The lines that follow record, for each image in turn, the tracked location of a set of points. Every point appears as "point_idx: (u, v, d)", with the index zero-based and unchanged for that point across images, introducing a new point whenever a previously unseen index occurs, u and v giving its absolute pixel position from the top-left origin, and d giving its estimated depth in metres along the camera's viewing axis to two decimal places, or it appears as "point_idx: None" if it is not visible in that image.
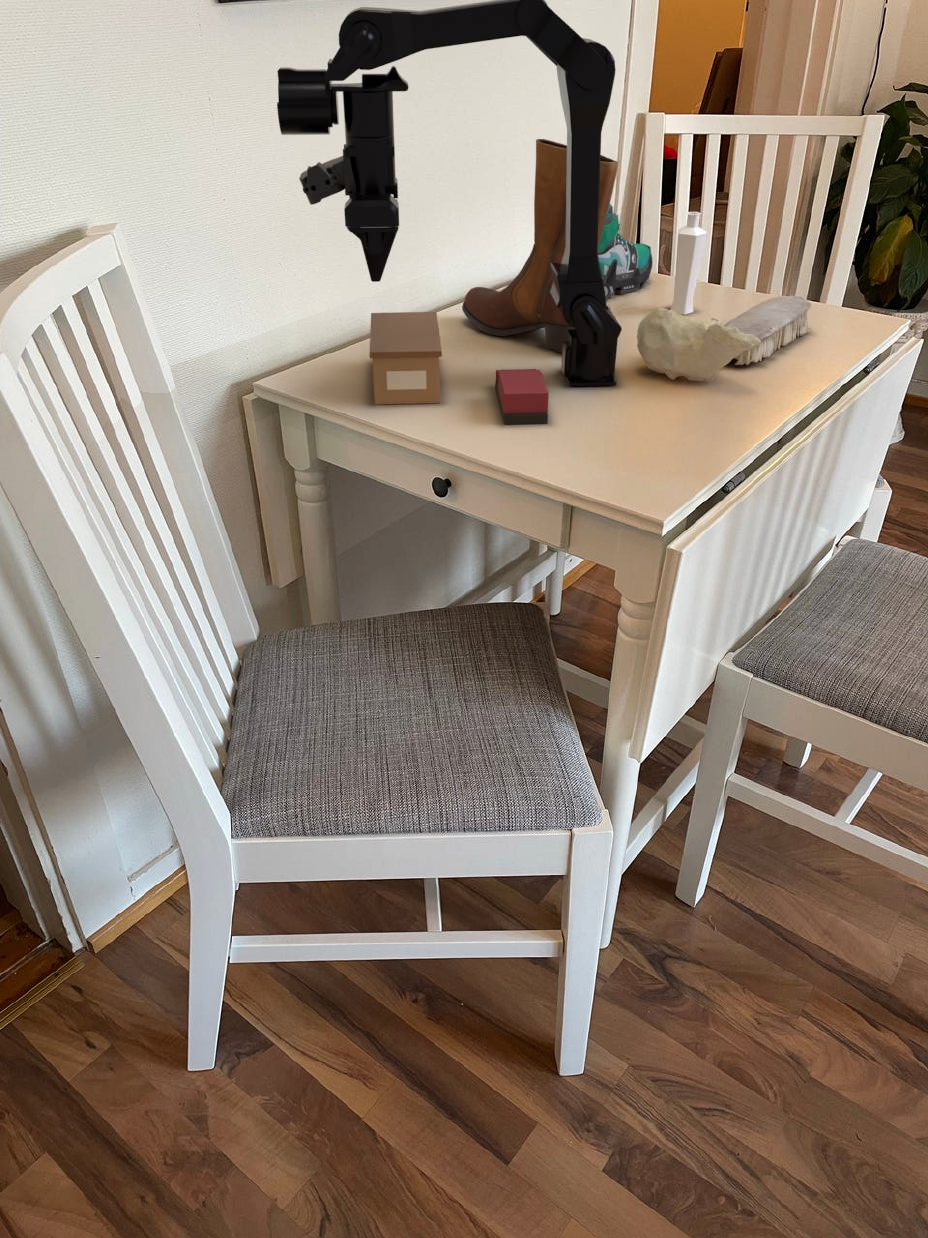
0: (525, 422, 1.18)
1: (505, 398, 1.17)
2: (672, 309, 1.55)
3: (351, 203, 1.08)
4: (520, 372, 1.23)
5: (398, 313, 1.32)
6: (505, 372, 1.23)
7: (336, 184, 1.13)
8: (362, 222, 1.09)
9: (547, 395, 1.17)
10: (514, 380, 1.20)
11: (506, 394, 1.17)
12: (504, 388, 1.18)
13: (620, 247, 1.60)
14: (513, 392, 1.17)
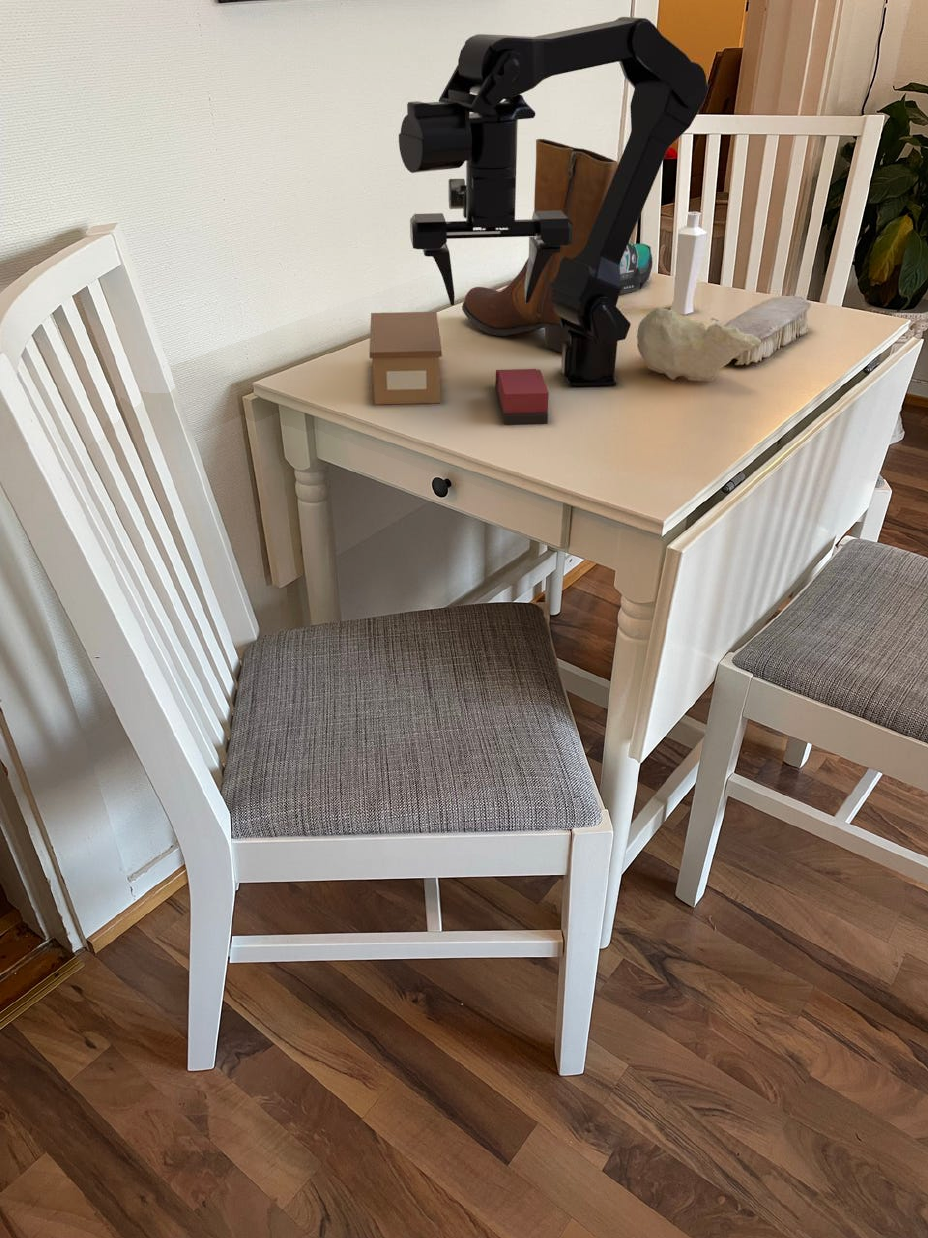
0: (525, 422, 1.18)
1: (505, 398, 1.17)
2: (672, 309, 1.55)
3: (413, 216, 1.13)
4: (520, 372, 1.23)
5: (398, 313, 1.32)
6: (505, 372, 1.23)
7: None
8: None
9: (547, 395, 1.17)
10: (514, 380, 1.20)
11: (506, 394, 1.17)
12: (504, 388, 1.18)
13: None
14: (513, 392, 1.17)
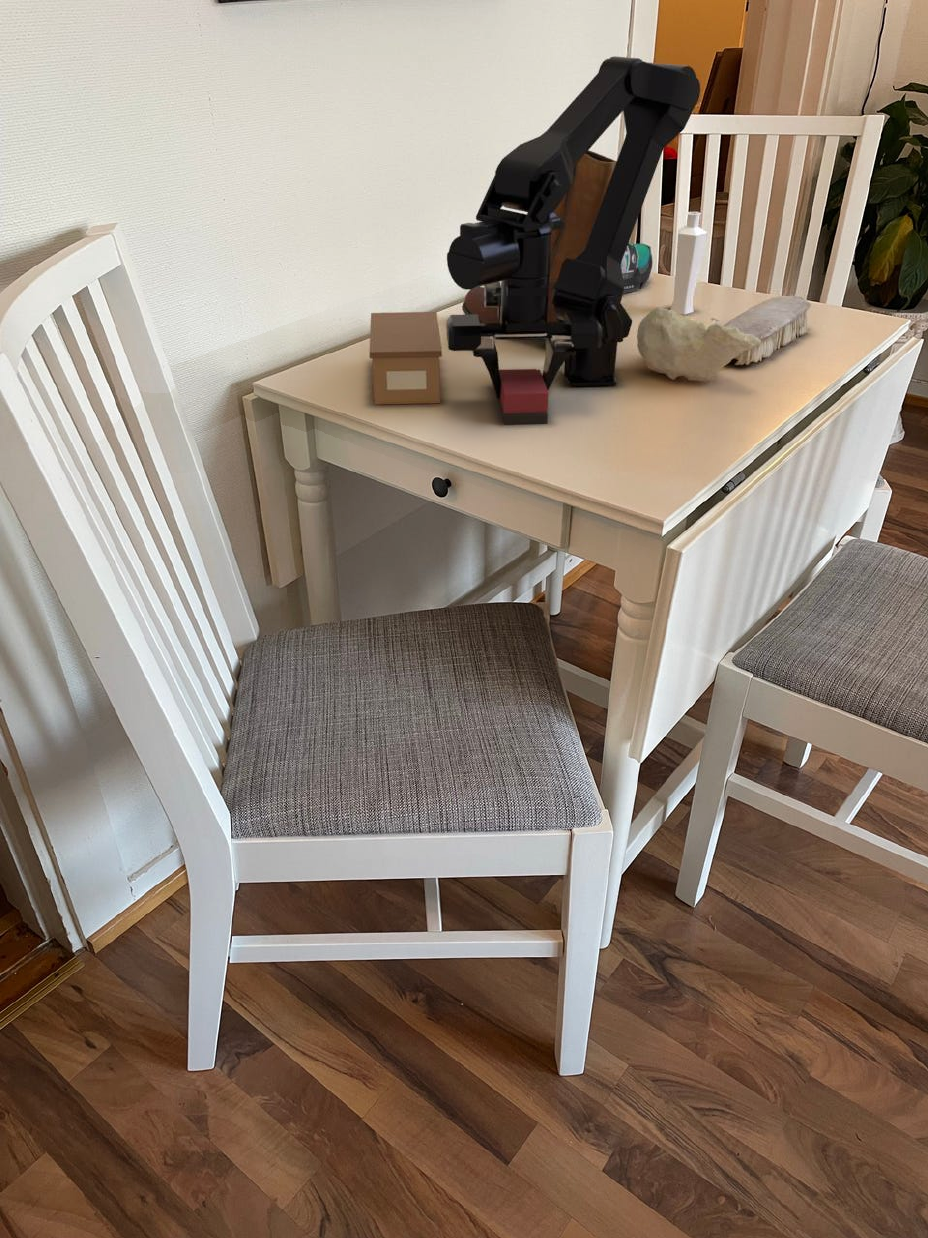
0: (525, 422, 1.18)
1: (505, 398, 1.17)
2: (672, 309, 1.55)
3: None
4: (520, 372, 1.23)
5: (398, 313, 1.32)
6: (505, 372, 1.23)
7: None
8: None
9: (547, 395, 1.17)
10: (514, 380, 1.20)
11: (506, 394, 1.17)
12: (504, 388, 1.18)
13: None
14: (513, 392, 1.17)
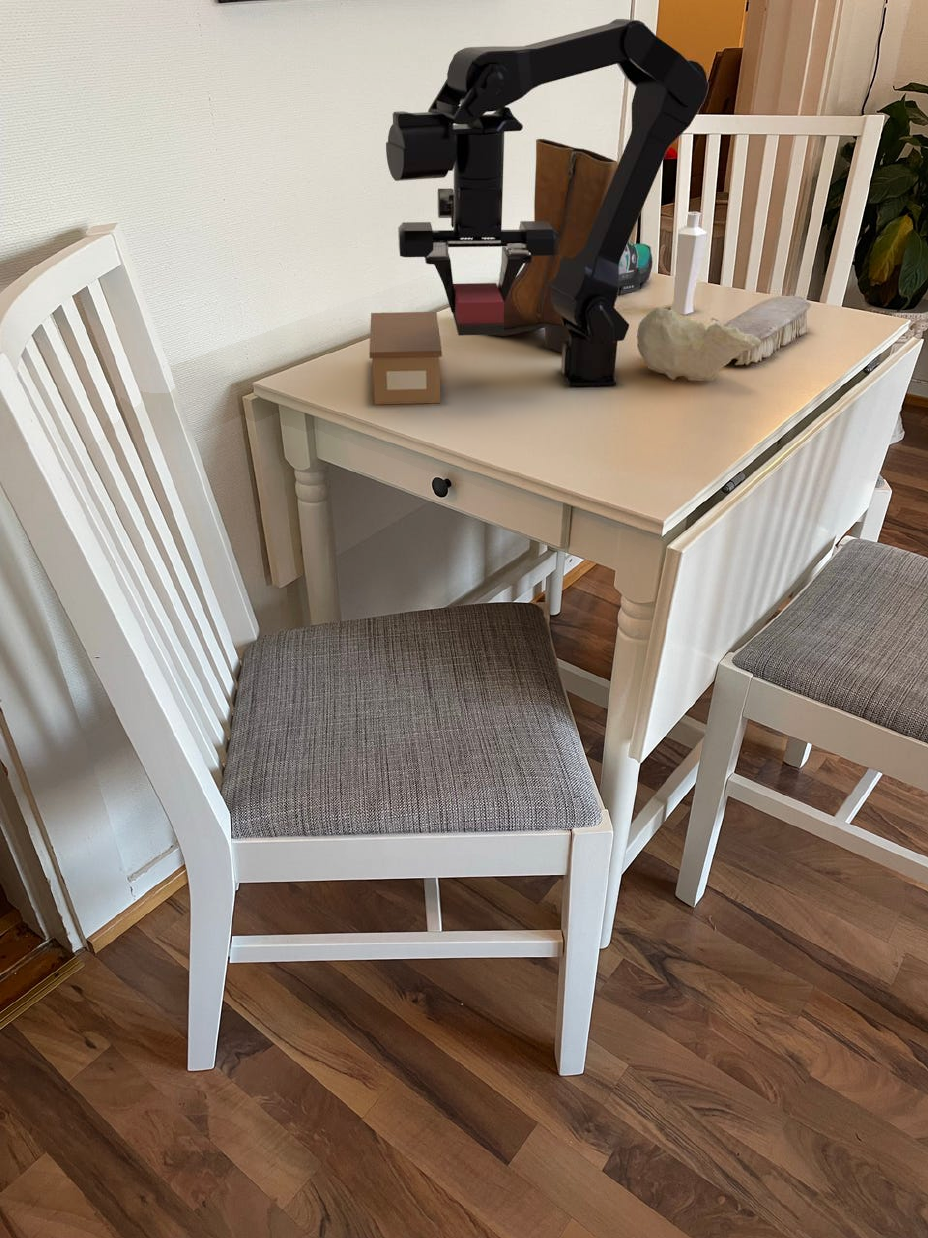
0: (480, 333, 1.15)
1: (459, 307, 1.13)
2: (672, 309, 1.55)
3: (401, 224, 1.15)
4: (476, 285, 1.19)
5: (398, 313, 1.32)
6: (460, 285, 1.19)
7: None
8: None
9: (502, 304, 1.14)
10: (469, 291, 1.17)
11: (460, 303, 1.13)
12: (458, 298, 1.15)
13: None
14: (467, 301, 1.14)
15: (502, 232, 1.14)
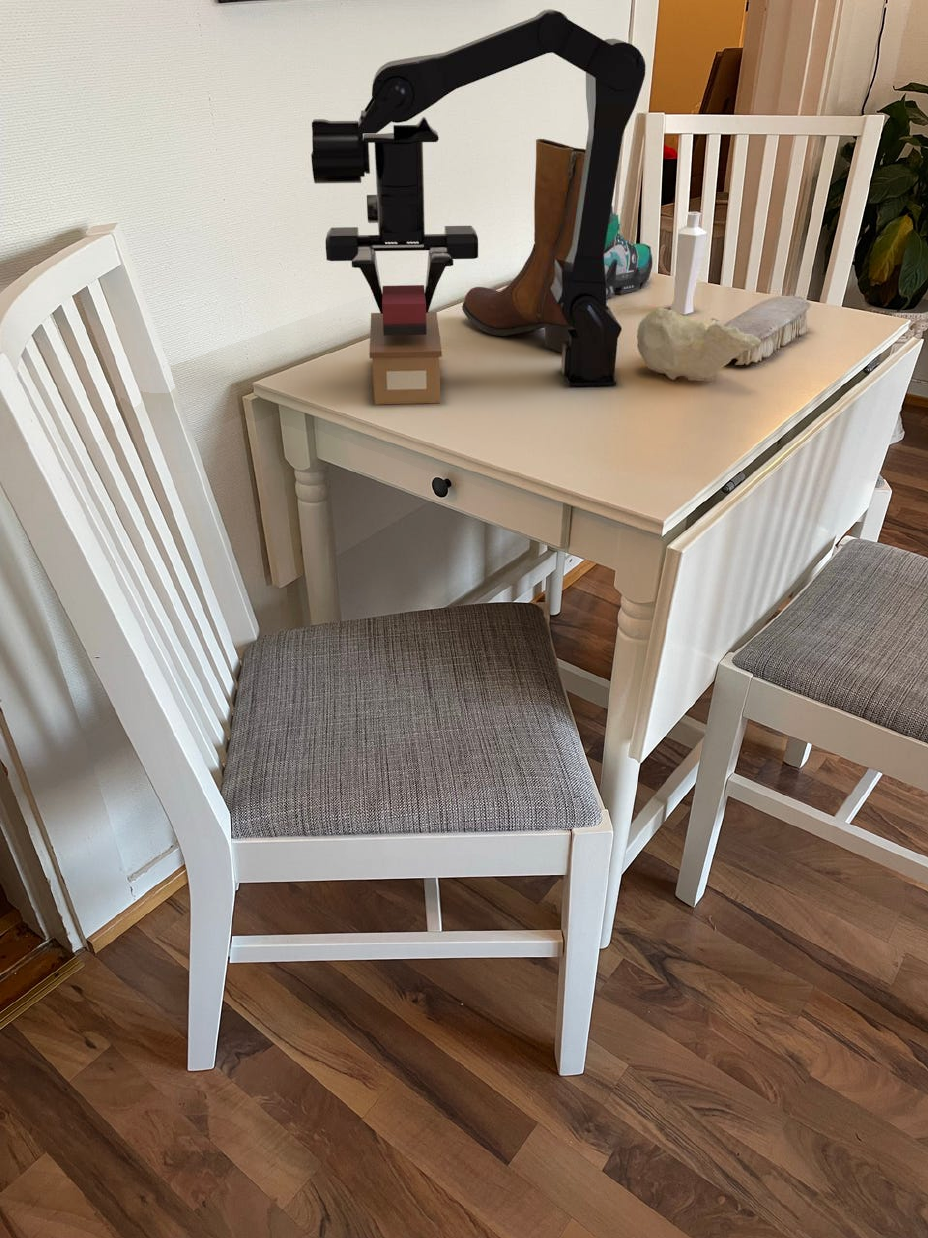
0: (404, 333, 1.20)
1: (383, 308, 1.19)
2: (672, 309, 1.55)
3: (330, 229, 1.20)
4: (404, 287, 1.24)
5: None
6: (388, 287, 1.24)
7: None
8: None
9: (424, 305, 1.19)
10: (395, 293, 1.22)
11: (384, 304, 1.18)
12: (383, 299, 1.20)
13: (620, 247, 1.60)
14: (391, 302, 1.19)
15: (425, 236, 1.19)
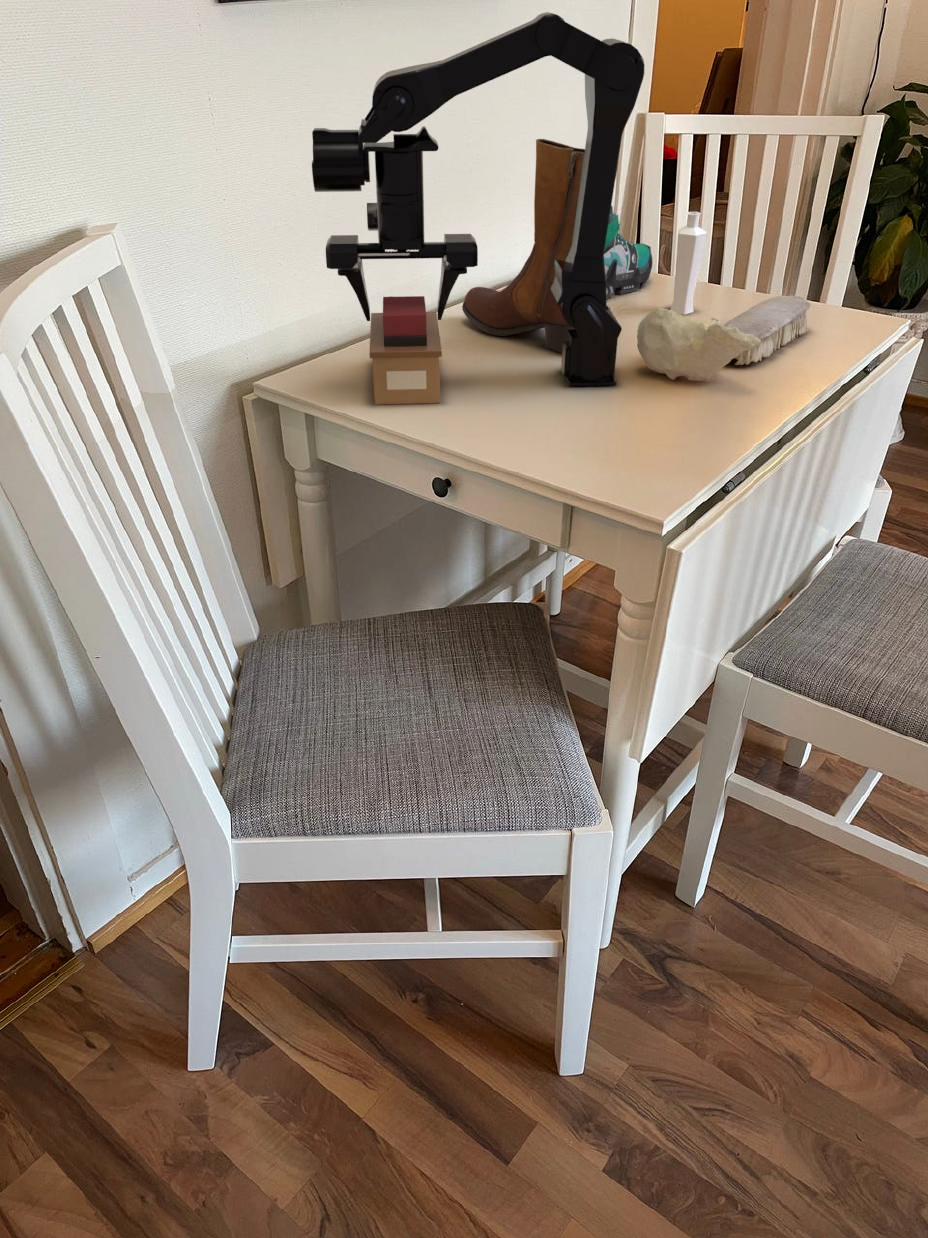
0: (405, 344, 1.21)
1: (383, 320, 1.19)
2: (672, 309, 1.55)
3: (330, 237, 1.21)
4: (404, 298, 1.25)
5: None
6: (389, 298, 1.25)
7: None
8: None
9: (425, 317, 1.20)
10: (396, 304, 1.23)
11: (384, 316, 1.19)
12: (384, 311, 1.21)
13: (620, 247, 1.60)
14: (391, 314, 1.20)
15: (425, 245, 1.20)
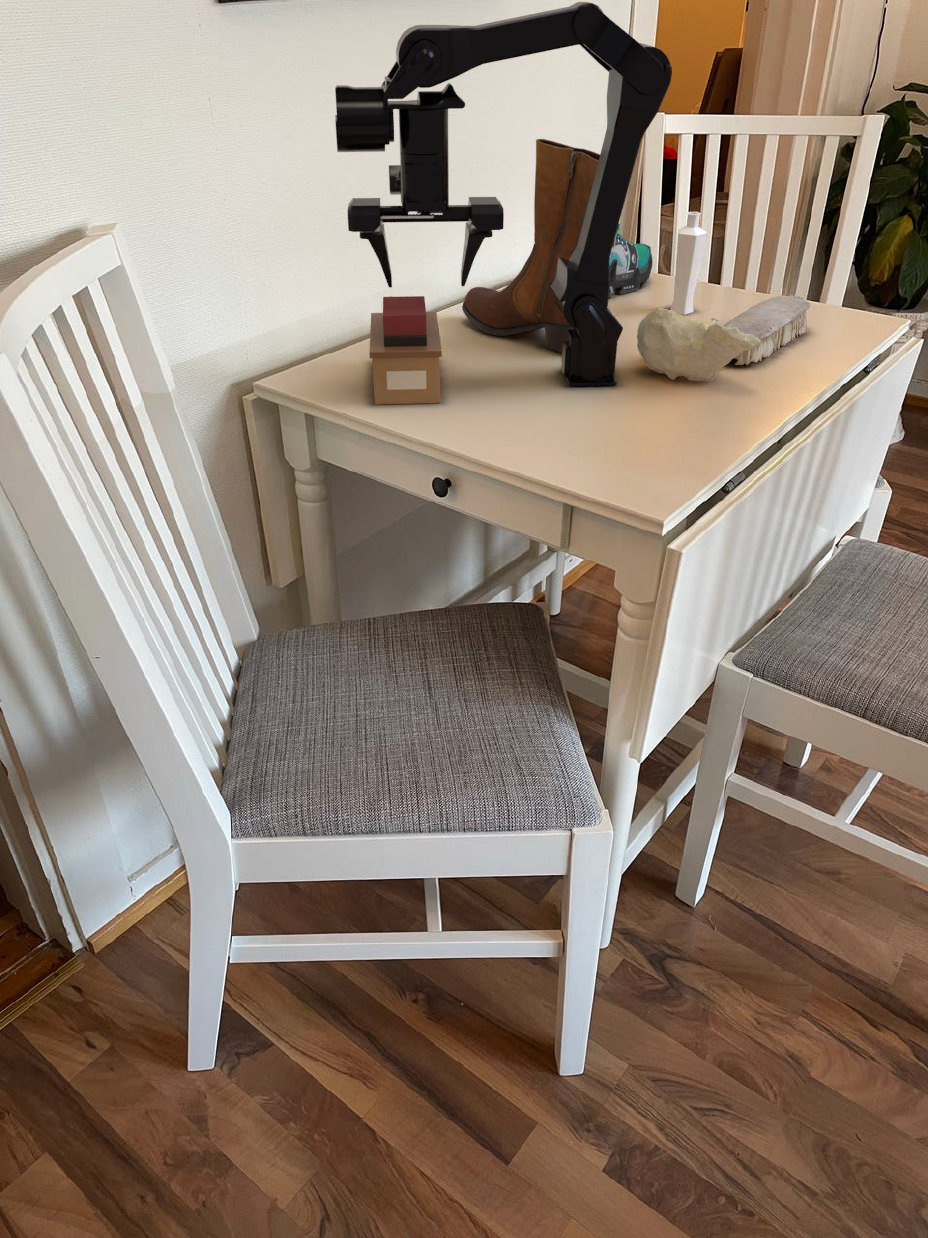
0: (405, 344, 1.21)
1: (383, 320, 1.19)
2: (672, 309, 1.55)
3: (351, 200, 1.18)
4: (404, 298, 1.25)
5: None
6: (389, 298, 1.25)
7: None
8: None
9: (425, 317, 1.20)
10: (396, 304, 1.23)
11: (384, 316, 1.19)
12: (384, 311, 1.21)
13: (620, 247, 1.60)
14: (391, 314, 1.20)
15: (449, 207, 1.16)
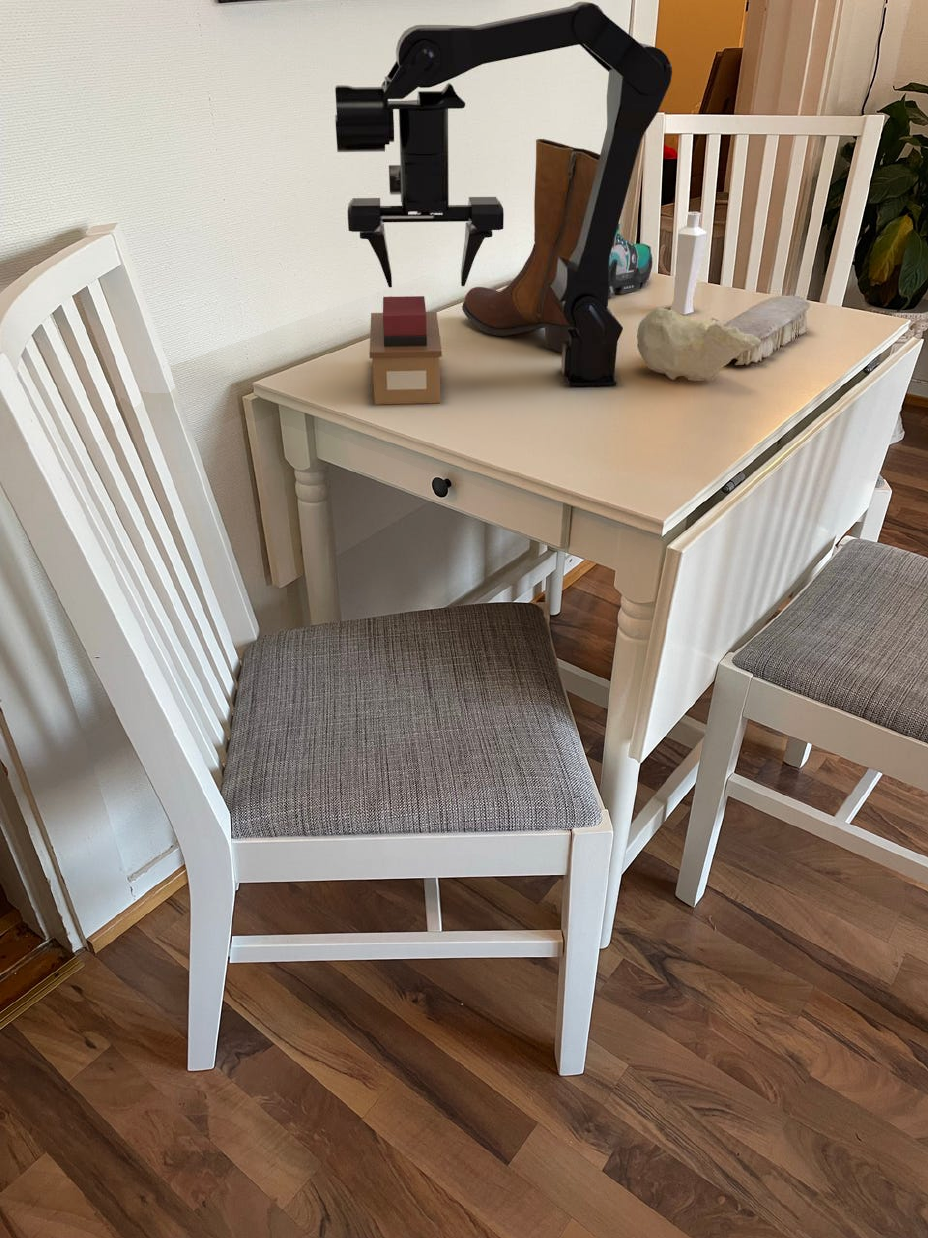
0: (405, 344, 1.21)
1: (383, 320, 1.19)
2: (672, 309, 1.55)
3: (351, 200, 1.18)
4: (404, 298, 1.25)
5: None
6: (389, 298, 1.25)
7: None
8: None
9: (425, 317, 1.20)
10: (396, 304, 1.23)
11: (384, 316, 1.19)
12: (384, 311, 1.21)
13: (620, 247, 1.60)
14: (391, 314, 1.20)
15: (449, 207, 1.16)
